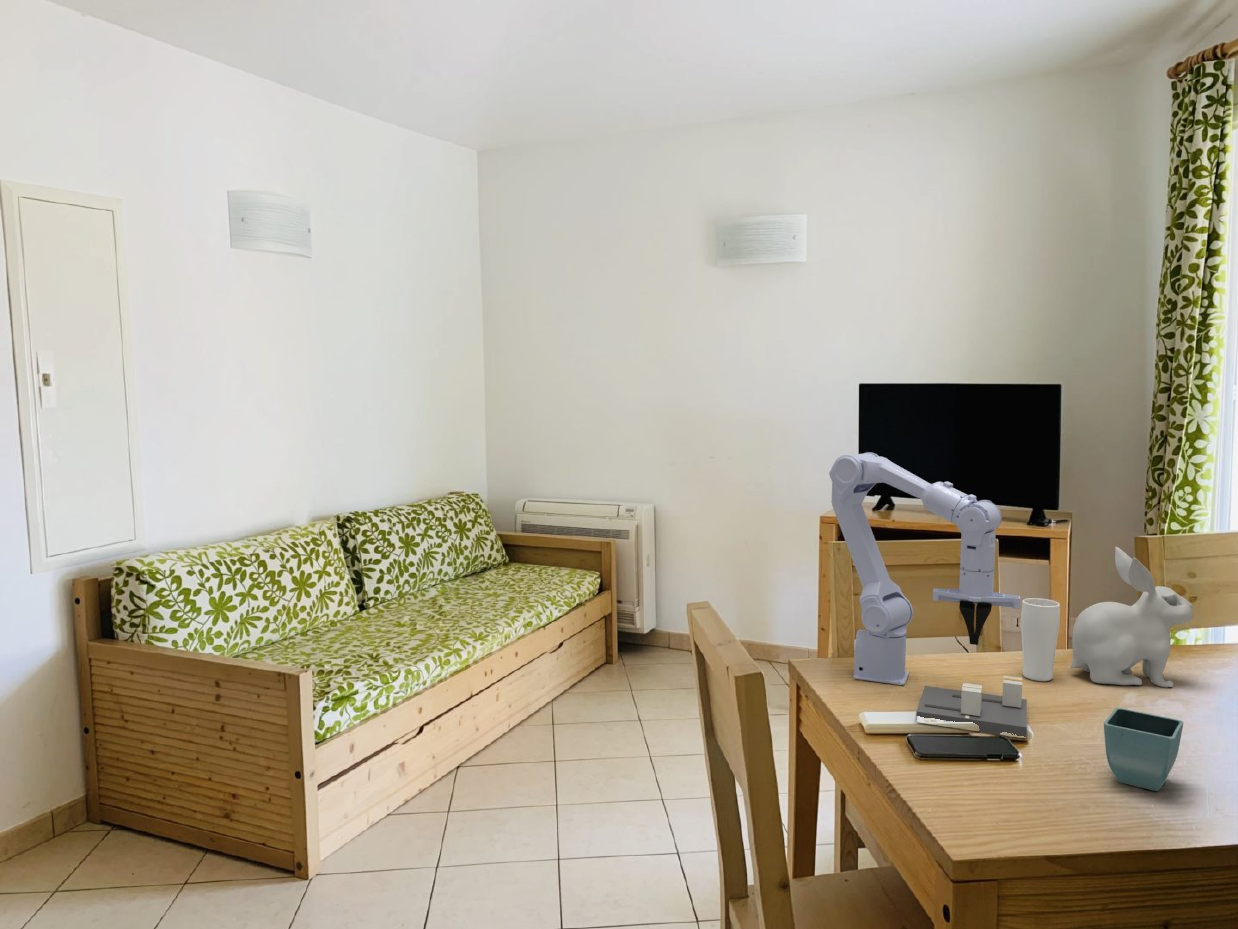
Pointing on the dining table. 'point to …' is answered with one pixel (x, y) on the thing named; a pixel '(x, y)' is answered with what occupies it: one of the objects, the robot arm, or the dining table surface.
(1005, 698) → the far fader knob
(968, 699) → the near fader knob
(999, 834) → the dining table surface
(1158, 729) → the flower pot
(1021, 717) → the panel
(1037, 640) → the drinking glass
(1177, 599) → the rabbit
